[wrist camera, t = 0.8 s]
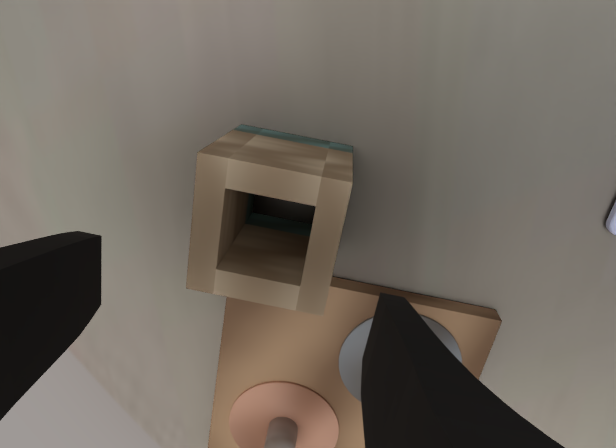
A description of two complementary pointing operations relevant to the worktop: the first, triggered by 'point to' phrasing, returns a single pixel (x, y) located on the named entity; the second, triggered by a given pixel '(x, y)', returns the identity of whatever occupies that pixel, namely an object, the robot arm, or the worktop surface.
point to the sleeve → (268, 218)
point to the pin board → (319, 365)
